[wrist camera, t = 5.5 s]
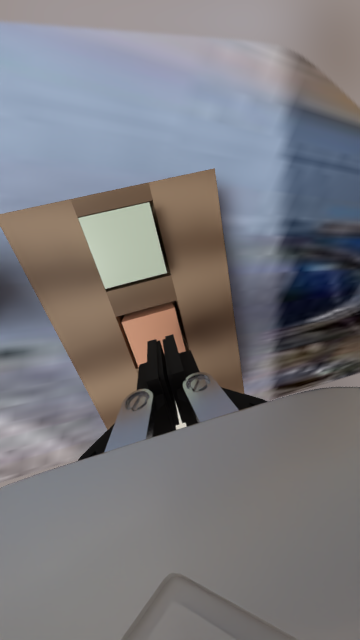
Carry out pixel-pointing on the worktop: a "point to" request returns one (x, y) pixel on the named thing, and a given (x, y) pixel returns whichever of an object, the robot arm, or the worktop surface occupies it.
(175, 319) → the terracotta button
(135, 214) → the sage button
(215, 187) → the button panel
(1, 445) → the worktop surface
